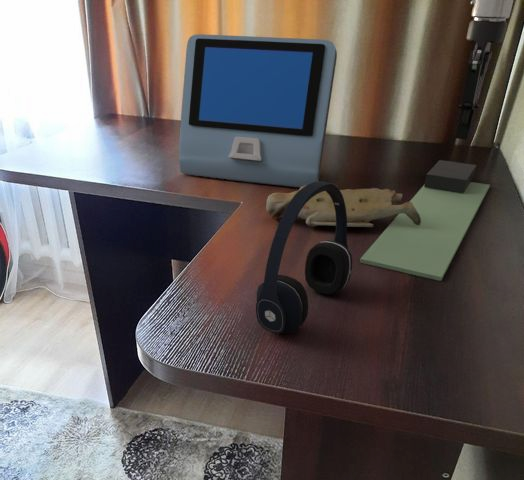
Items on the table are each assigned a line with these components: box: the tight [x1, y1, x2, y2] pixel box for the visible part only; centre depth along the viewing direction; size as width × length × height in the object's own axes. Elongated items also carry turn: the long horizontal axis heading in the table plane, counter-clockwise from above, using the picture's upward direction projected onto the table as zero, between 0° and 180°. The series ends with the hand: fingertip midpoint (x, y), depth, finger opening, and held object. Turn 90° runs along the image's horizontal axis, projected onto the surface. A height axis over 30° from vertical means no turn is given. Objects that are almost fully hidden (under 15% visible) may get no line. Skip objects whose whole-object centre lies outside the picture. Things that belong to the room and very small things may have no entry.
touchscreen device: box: [178, 33, 338, 189], centre depth 121 cm, size 35×20×30 cm, turn 73°
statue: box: [265, 184, 421, 228], centre depth 100 cm, size 10×7×30 cm
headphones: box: [255, 180, 353, 335], centre depth 70 cm, size 20×7×18 cm, turn 146°
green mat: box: [359, 181, 491, 282], centre depth 105 cm, size 14×55×1 cm, turn 152°
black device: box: [423, 159, 477, 193], centre depth 122 cm, size 9×3×14 cm
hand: (461, 138), depth 120 cm, fingers closed
